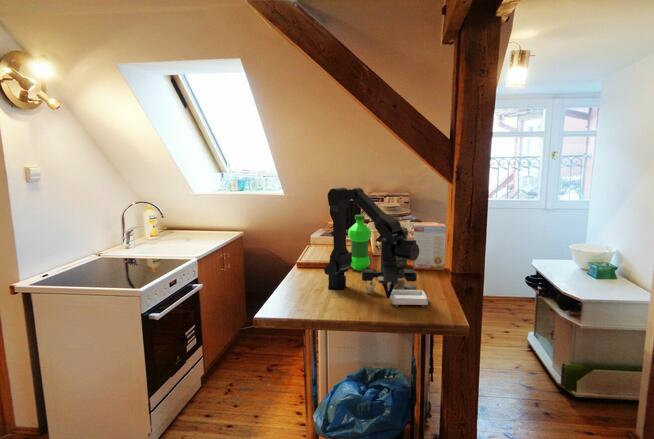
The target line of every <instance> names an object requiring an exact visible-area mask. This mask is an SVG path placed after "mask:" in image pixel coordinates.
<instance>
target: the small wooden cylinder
mask: <svg viewBox="0 0 654 439" xmlns="http://www.w3.org/2000/svg"><path fill="white" fill-rule="evenodd" d="M376 282H377V277H374V279H373V280H372V281H364V294H366V295H368V296H369V295H375V294H376V292H377V290H376V289H377V288H376V287H377V286H376V284H377V283H376Z"/></svg>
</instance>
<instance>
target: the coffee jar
mask: <svg viewBox="0 0 654 439" xmlns="http://www.w3.org/2000/svg"><path fill="white" fill-rule="evenodd" d="M401 228H402V230H403V232H404V233H405V235H406V237H407V239H408V237H409V230H408V228H407V227H404V226H401ZM395 236H398V235H394V236H393V237H395ZM407 265H408V260H407V259H402V258H398V257H397V266H398V267H403V268H404V267H407Z"/></svg>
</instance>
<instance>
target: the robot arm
mask: <svg viewBox="0 0 654 439" xmlns="http://www.w3.org/2000/svg"><path fill="white" fill-rule="evenodd" d="M350 200H352V201H353V202H354V203H355V204H356V205H357V206H358V208H360V209H361V210H362V211H363V212H364V214H366V215H367V217H369V218H370V219H371V221H372V222H373V224H374V228H375V230H376V231H377V232H378V234H379V236H378V237H377V238H376V239H375V242H378V243H380V271H374V269H373V268H365V269H363V270H362V271H361V281H364V282H365V281H372V280H373V279H374V278H377V282H378V283H379V284H381V285H382V286H383V289H384V293H385V296H386V299H387V300H388V299H391V298H390V295H391V293H392V290H393V288H394V286H395V285H396V284H397V283H400V281H399V279H400V278H402V279H404V280H406V281H407V282H417V280H418V279H417V277H418V274H417V273H416V271H415V269H413V268H409V269H407V268H405V267H404V266H403V267H398V266H397V257H398V258H402V259H407V261H412V262H413V261H415V260H416V259H417V258H418V256H419V247H418V245H417V244H416V240H414V239H408V238H407V237H406V235H405V233H404V232H403V230H402V228H401V227H402V226H401V222H400V221H399V220H398V219H397V218H395V217H394V216H392V214H391V215H390V214H388V213H386V212H385V211H383V210H382V209H381V208H380V206H378V205H377V203H375V202H374V201H373V199H371V198H370V197H369V196H368V195H367V193H365V192H364V190H363V188H360V187H355V188H354V187H353V188H351V189H348V188H347V187H338V188H337V187H335V188H331V189H329V191H328V192H327V202H328V206H329V208H330V210H331V212H332V233H333V234H332V236H333V238H332V239H333V240H332V242H333V243H332V244H333V249H332V251H331V253H330V254H329V255H330V256H329V263H328V264H327V265H326V266H325V267H324V268H323V271H324V275H327V276H328V282H327V283H328V285H327V289H328V291H333V290H334V291H345V288H346V287H347V276H346V275H345V273H348V271H349V269H350V267H351V262H352V252H351V251H349V250H348V247H347V221H346V220H347V216H346V214H347V212H346V211H347V210H348V207H349V205H350ZM394 235H398V236H395V237H393V236H394Z"/></svg>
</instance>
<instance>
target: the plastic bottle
mask: <svg viewBox="0 0 654 439" xmlns="http://www.w3.org/2000/svg"><path fill="white" fill-rule="evenodd" d="M354 220H355V223H354V224H353V225H352V226H350V227H349V228H348V232H347V236H348V238H349V240H350V252H352V262H351V266H350V267H351V268H352V269H353V270H354V271H357V272H359V271H361V272H362V270H363V269H367V268H368V267H369V265H370V264H371V260H370V256H369V240H370V239H371V237H372V231H371V228H369V227H368V226H367V224H365V223H364V221H365V215H364V214H355V215H354Z"/></svg>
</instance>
